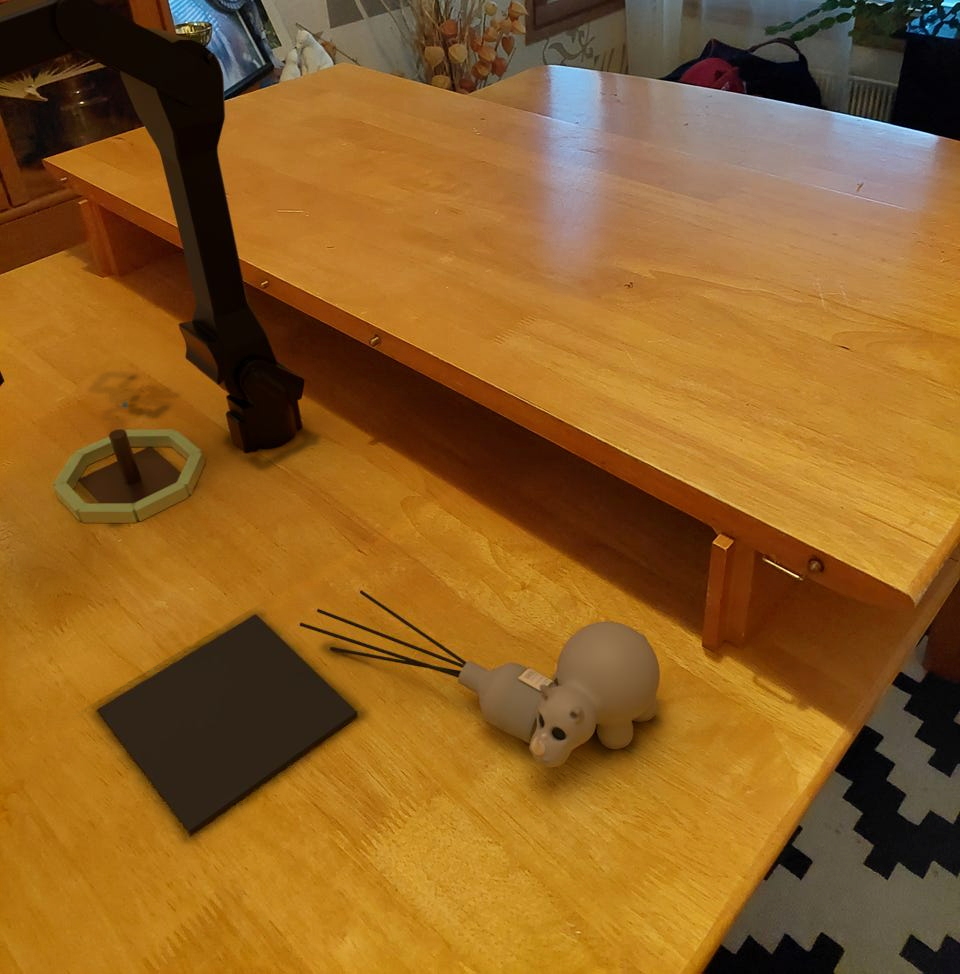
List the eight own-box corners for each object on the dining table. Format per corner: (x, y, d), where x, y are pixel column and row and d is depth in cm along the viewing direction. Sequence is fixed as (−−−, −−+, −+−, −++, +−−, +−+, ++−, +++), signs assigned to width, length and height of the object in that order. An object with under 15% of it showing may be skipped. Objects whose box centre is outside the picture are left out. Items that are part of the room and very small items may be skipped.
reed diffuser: (538, 716, 61) (300, 589, 68) (510, 799, 63) (283, 668, 70) (592, 660, 70) (377, 553, 77) (566, 734, 72) (359, 624, 79)
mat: (257, 618, 77) (255, 613, 77) (358, 716, 69) (357, 711, 69) (99, 714, 70) (96, 709, 70) (191, 835, 62) (188, 830, 62)
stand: (153, 453, 96) (136, 400, 92) (191, 486, 92) (175, 433, 88) (79, 487, 92) (59, 434, 88) (115, 524, 88) (95, 470, 84)
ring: (161, 425, 99) (158, 414, 98) (225, 478, 91) (222, 467, 90) (40, 479, 92) (35, 468, 91) (98, 542, 84) (94, 531, 83)
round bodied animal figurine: (491, 759, 66) (488, 681, 61) (596, 663, 73) (602, 585, 67) (570, 821, 62) (574, 743, 57) (673, 713, 69) (685, 634, 63)
